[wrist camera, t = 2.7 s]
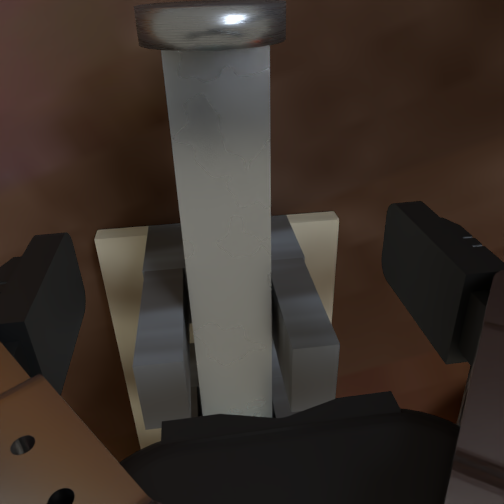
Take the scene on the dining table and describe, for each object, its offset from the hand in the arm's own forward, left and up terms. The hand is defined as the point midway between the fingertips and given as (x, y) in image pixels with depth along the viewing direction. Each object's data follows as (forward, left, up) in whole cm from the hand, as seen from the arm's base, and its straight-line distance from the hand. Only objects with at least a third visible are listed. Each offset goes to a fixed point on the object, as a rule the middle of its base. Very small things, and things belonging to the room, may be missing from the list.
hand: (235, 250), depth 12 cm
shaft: (+9, 0, -7) cm, 12 cm away
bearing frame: (+15, 0, -11) cm, 18 cm away
